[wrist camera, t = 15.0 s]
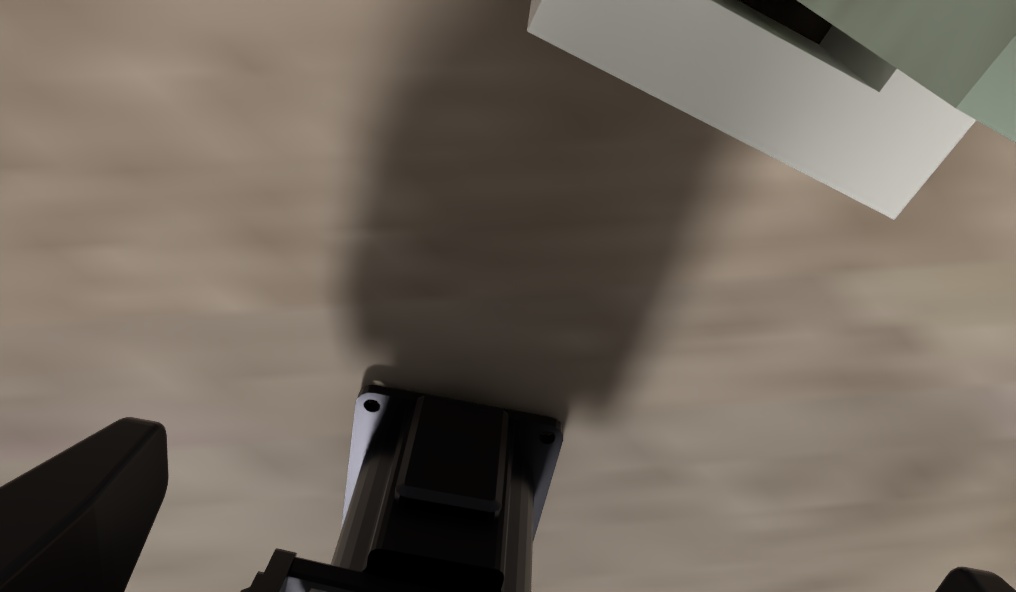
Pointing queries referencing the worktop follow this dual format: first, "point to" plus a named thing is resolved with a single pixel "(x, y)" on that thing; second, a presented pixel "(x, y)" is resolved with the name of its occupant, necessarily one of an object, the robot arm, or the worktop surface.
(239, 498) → the worktop surface
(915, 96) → the white rectangular frame
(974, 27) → the slat
